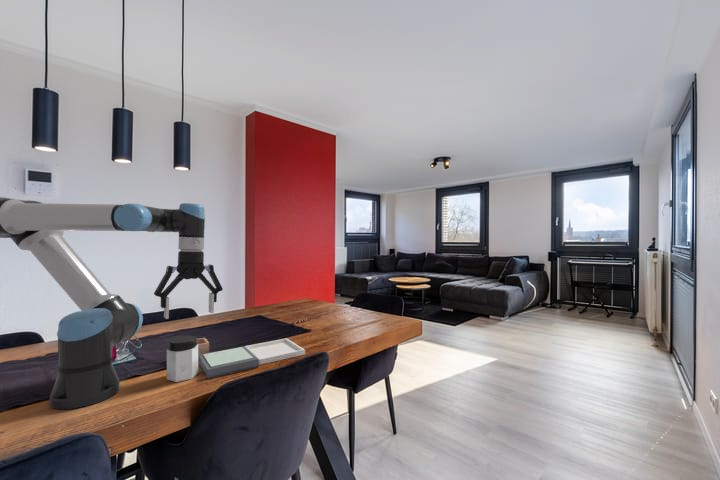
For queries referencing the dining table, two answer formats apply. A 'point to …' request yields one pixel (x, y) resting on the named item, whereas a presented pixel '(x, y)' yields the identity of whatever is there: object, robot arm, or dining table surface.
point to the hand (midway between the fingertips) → (189, 315)
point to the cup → (202, 346)
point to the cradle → (227, 366)
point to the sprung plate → (226, 357)
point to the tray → (275, 350)
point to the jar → (182, 358)
